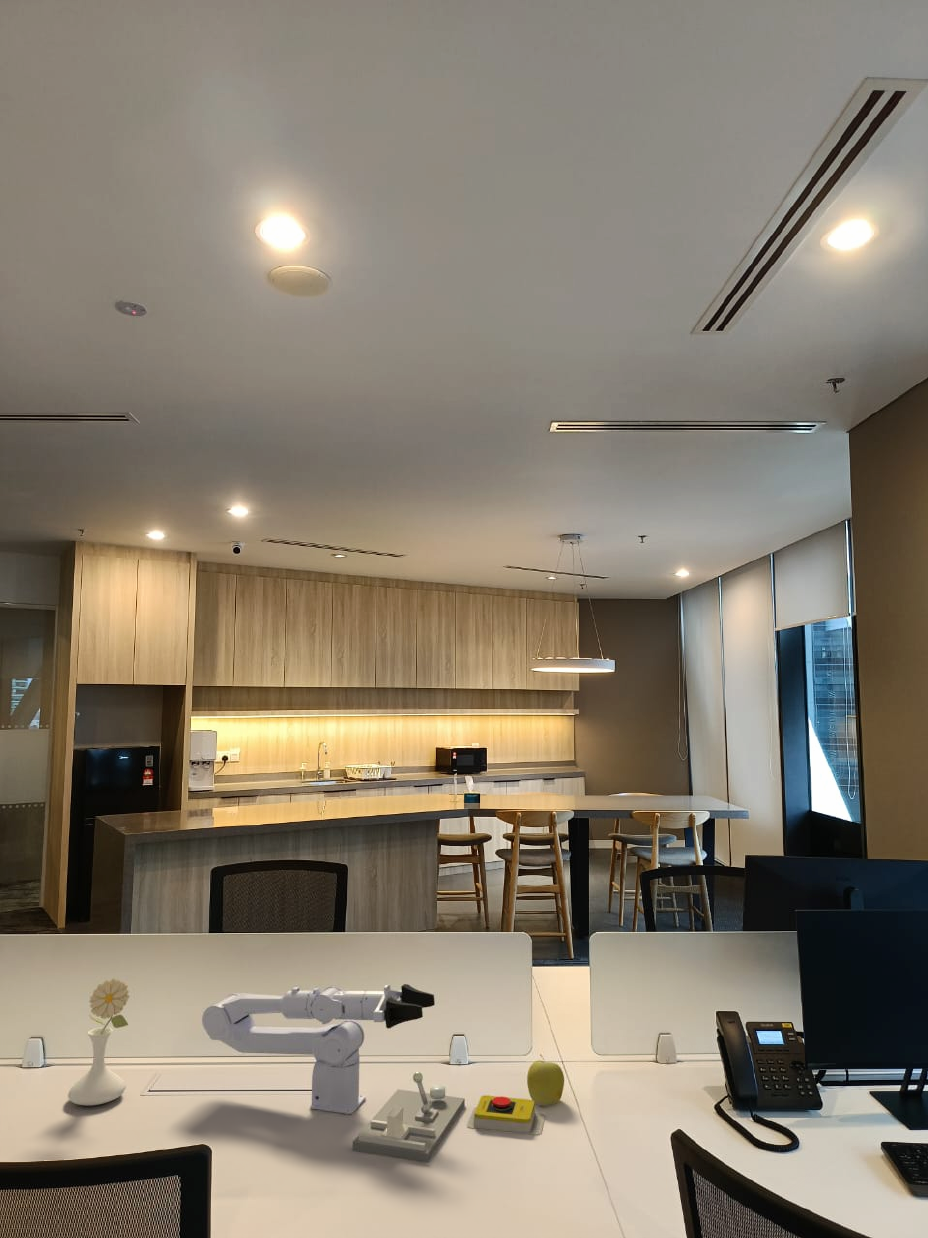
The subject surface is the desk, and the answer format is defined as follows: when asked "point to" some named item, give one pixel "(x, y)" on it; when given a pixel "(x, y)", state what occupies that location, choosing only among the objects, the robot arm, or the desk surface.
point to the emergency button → (506, 1115)
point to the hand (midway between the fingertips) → (428, 1006)
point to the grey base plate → (410, 1127)
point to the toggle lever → (422, 1093)
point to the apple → (545, 1083)
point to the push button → (437, 1092)
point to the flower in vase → (102, 1047)
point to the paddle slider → (395, 1125)
